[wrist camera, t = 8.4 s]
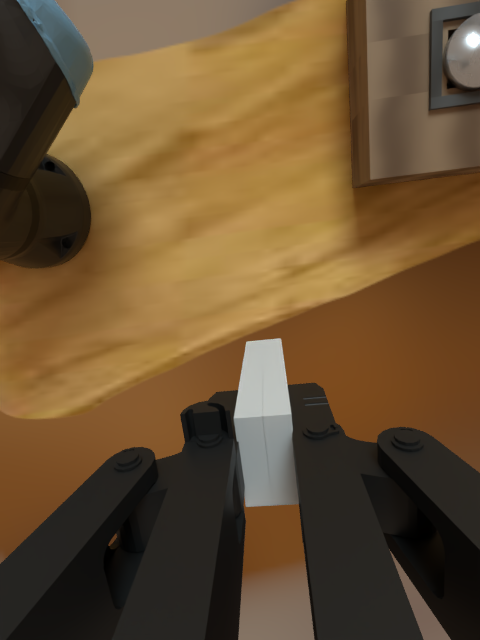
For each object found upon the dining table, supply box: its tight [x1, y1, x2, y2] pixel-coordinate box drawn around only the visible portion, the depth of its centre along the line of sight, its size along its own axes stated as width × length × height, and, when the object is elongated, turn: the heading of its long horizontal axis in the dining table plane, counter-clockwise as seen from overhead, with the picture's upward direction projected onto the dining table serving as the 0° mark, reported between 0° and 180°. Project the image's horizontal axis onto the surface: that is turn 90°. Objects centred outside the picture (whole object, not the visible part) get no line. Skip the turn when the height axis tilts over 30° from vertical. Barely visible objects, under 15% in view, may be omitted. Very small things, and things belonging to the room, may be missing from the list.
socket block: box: [346, 0, 480, 188], centre depth 38 cm, size 20×20×8 cm
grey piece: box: [442, 13, 480, 91], centre depth 37 cm, size 6×6×8 cm
